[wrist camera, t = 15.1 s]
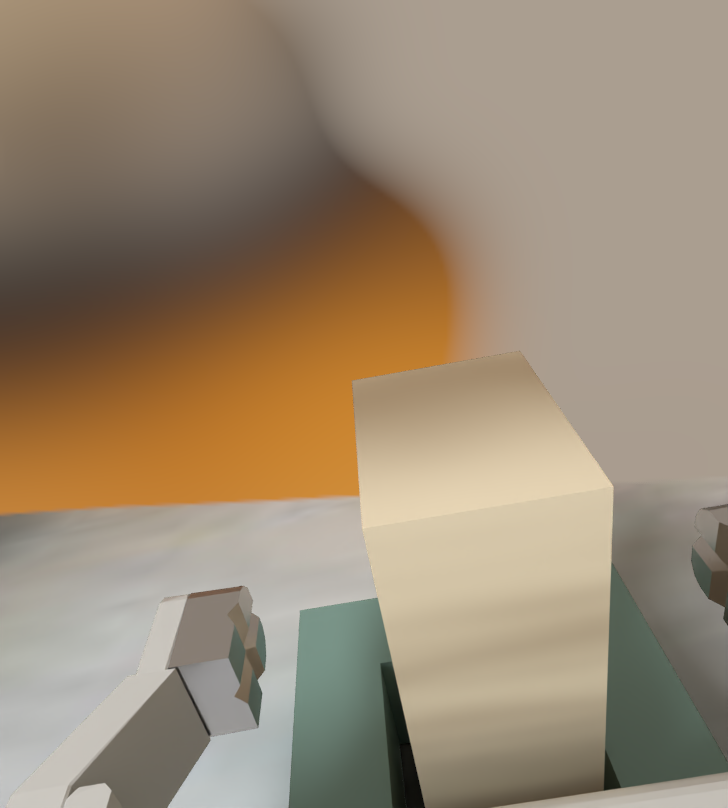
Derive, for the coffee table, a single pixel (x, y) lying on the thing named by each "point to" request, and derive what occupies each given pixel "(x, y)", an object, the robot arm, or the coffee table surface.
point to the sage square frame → (386, 726)
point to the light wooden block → (488, 578)
